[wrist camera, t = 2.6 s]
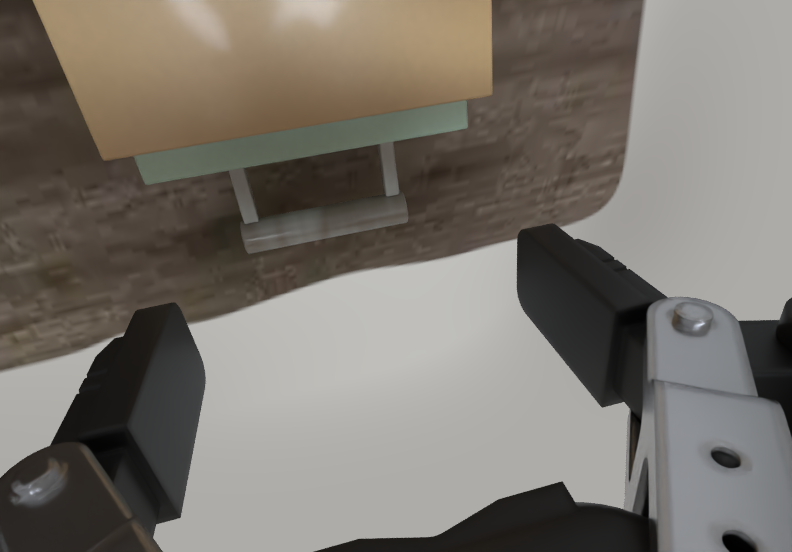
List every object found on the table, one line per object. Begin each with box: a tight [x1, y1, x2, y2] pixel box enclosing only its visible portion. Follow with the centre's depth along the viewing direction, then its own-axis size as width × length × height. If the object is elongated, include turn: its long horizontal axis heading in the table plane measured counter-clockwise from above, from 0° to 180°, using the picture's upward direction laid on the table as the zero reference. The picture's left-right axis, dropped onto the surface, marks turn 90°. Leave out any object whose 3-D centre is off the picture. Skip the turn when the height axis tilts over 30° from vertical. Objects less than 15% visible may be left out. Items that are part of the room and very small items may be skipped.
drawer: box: [134, 100, 468, 254], centre depth 18 cm, size 16×11×7 cm
